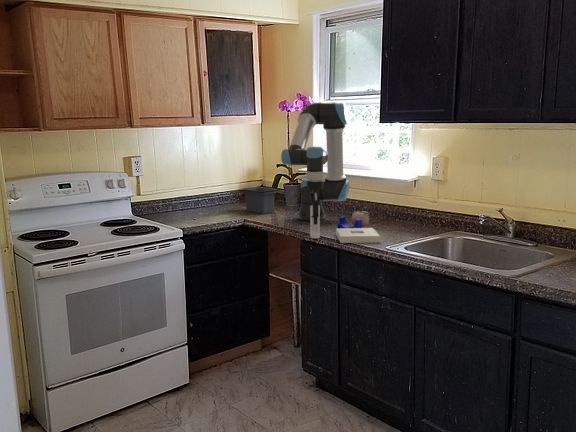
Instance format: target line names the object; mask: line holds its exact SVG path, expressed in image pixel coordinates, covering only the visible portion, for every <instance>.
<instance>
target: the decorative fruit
mask: <svg viewBox="0 0 576 432" xmlns="http://www.w3.org/2000/svg"><path fill="white" fill-rule="evenodd" d="M351 214H352V215H351V217H350V218H351V219H350V220H351V223H352V225H354V224H355V221H356V220H358V219H361V220H362V228H366V226H367V225H368V224H369V222H370V216H369V215H370V213H369V212H368V211H365V210H362V209H359V210H355V211H352V212H351Z"/></svg>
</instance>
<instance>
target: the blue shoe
mask: <svg viewBox="0 0 576 432" xmlns="http://www.w3.org/2000/svg"><path fill="white" fill-rule="evenodd" d="M336 227H337V228H362V220H361V219H358V220H356V221H355V224H353V226H351V225H349V224H348V222H347V218H346V216H340V217H339V222H338V223H337V226H336Z"/></svg>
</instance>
